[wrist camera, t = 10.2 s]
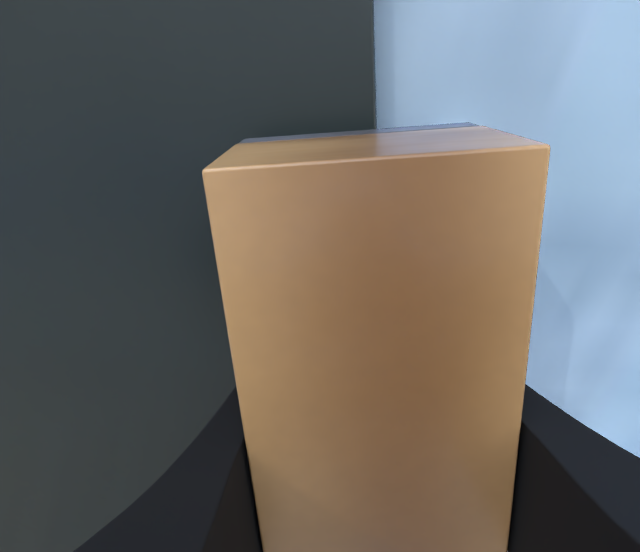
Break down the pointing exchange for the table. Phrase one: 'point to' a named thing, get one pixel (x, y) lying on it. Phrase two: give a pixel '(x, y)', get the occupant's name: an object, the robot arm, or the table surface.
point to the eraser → (380, 330)
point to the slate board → (134, 227)
